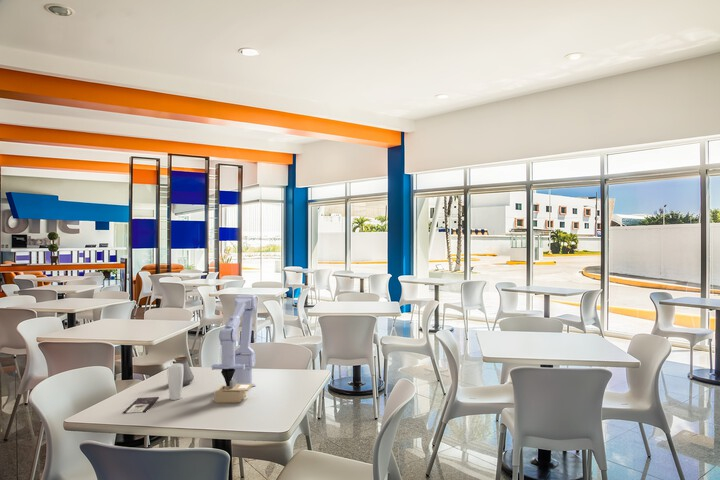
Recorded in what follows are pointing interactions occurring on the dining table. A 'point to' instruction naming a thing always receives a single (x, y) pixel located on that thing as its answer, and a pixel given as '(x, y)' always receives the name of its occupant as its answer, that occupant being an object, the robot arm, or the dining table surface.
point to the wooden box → (229, 396)
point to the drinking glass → (175, 380)
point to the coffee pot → (185, 370)
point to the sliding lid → (237, 386)
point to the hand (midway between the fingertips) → (228, 385)
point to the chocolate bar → (141, 405)
